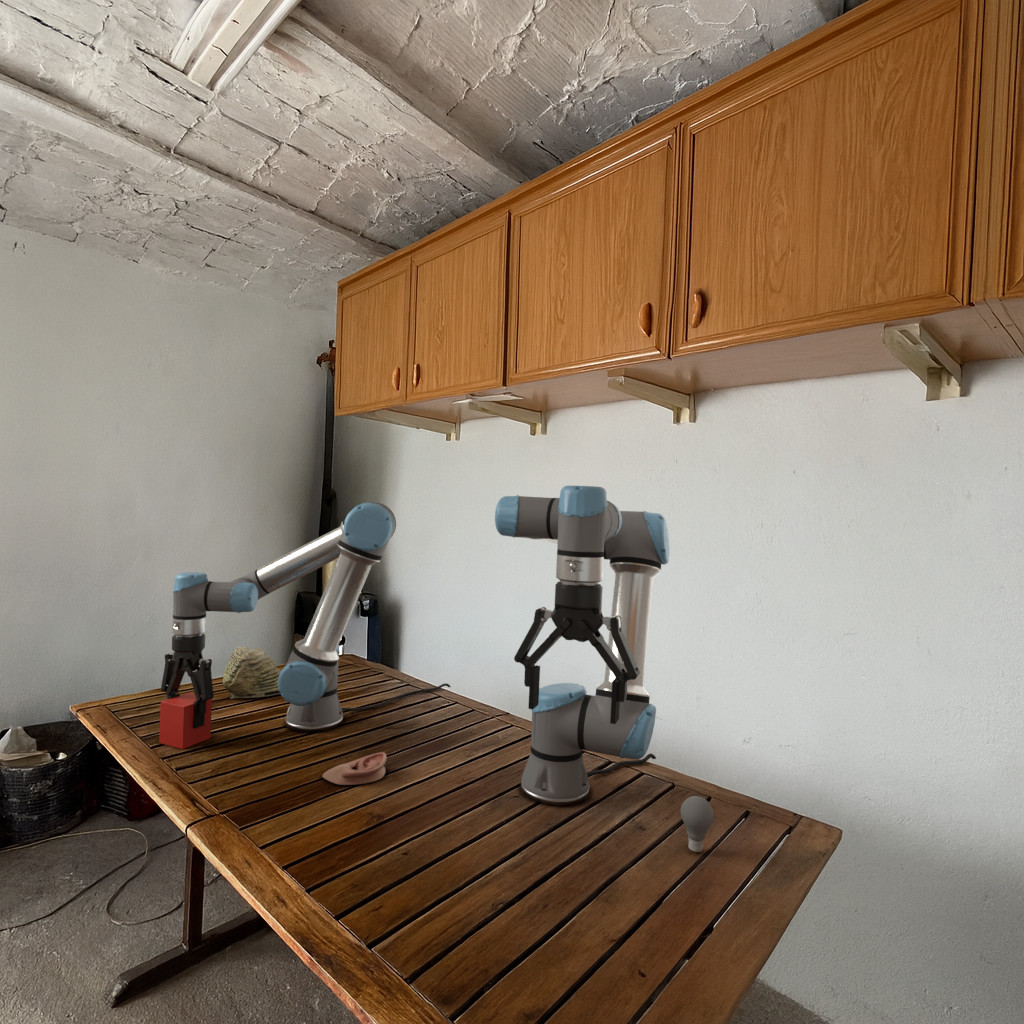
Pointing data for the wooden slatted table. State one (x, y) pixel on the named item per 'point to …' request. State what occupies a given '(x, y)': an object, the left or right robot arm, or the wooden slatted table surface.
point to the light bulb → (696, 820)
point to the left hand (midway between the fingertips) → (185, 723)
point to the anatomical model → (358, 770)
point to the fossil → (251, 674)
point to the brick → (182, 722)
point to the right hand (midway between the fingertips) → (573, 714)
